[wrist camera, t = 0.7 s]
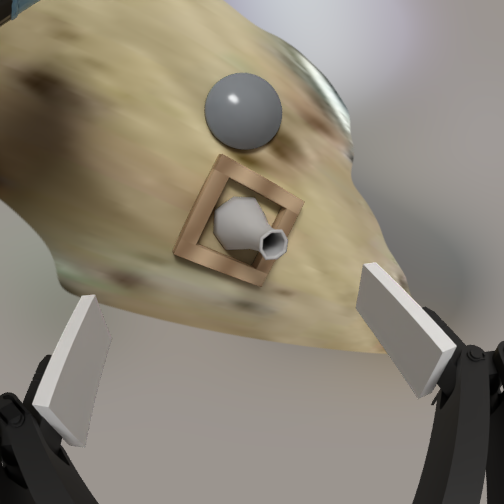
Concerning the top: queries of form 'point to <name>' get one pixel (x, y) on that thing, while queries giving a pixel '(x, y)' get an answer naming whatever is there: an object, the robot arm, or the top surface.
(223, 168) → the holder
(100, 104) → the top surface
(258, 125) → the coaster
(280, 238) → the flask
